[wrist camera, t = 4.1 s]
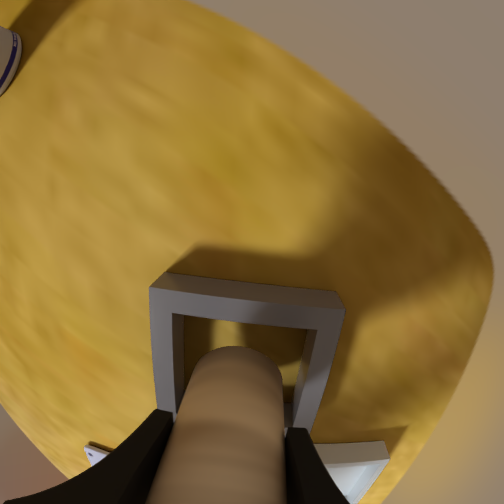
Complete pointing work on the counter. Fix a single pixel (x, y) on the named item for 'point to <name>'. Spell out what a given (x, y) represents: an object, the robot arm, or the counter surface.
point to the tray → (354, 465)
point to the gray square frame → (246, 311)
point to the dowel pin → (226, 434)
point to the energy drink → (8, 56)
